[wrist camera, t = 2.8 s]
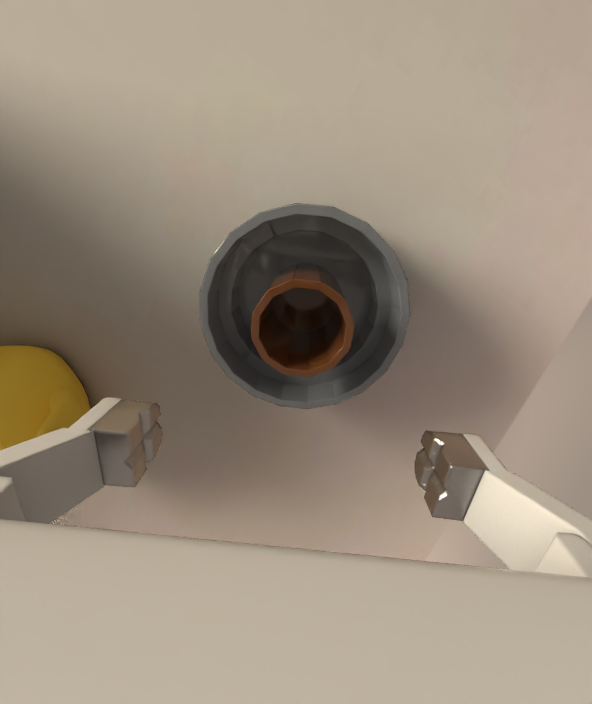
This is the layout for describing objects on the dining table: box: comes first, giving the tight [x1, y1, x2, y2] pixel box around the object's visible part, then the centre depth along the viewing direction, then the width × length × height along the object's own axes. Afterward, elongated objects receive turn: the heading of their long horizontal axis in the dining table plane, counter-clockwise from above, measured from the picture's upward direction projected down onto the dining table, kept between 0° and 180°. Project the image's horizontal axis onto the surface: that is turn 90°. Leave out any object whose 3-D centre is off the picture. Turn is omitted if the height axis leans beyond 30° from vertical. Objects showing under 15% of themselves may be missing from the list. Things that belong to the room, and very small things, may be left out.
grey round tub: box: [199, 203, 410, 409], centre depth 24 cm, size 14×14×6 cm
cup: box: [251, 263, 355, 377], centre depth 23 cm, size 6×6×8 cm
